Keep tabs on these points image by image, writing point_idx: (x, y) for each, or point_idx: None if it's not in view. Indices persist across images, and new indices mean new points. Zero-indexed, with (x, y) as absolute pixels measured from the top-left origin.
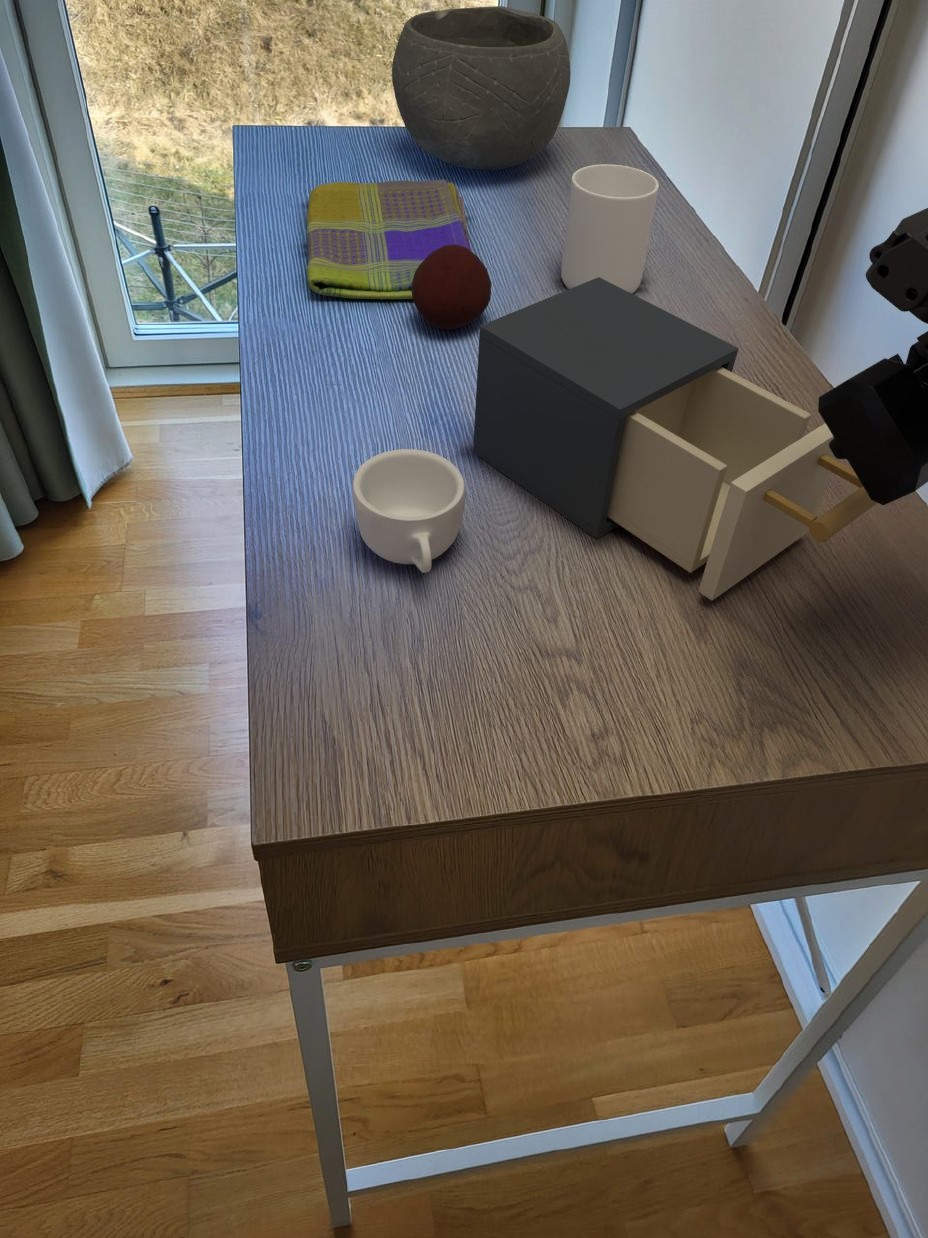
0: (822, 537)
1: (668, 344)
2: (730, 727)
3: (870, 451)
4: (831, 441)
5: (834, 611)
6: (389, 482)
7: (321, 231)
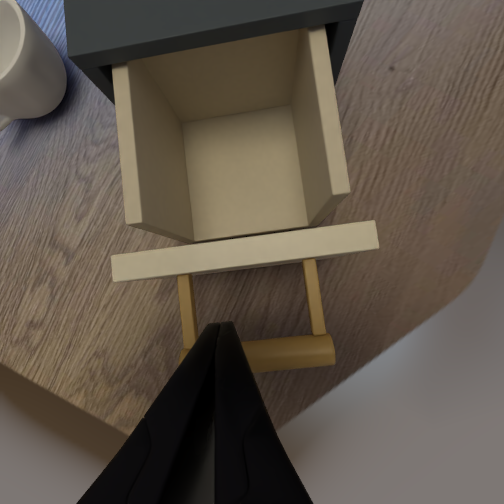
0: None
1: None
2: (113, 374)
3: None
4: (203, 331)
5: (278, 336)
6: (13, 23)
7: None
